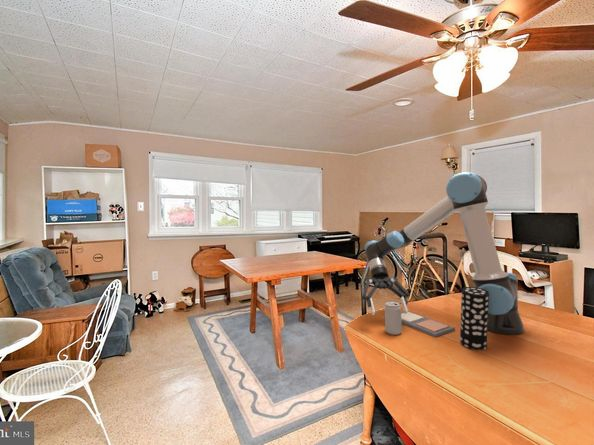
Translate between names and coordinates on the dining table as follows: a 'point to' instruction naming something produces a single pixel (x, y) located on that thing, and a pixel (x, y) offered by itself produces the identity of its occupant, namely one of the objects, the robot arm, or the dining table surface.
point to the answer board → (425, 324)
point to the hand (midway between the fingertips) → (389, 313)
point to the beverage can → (393, 318)
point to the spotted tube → (474, 317)
